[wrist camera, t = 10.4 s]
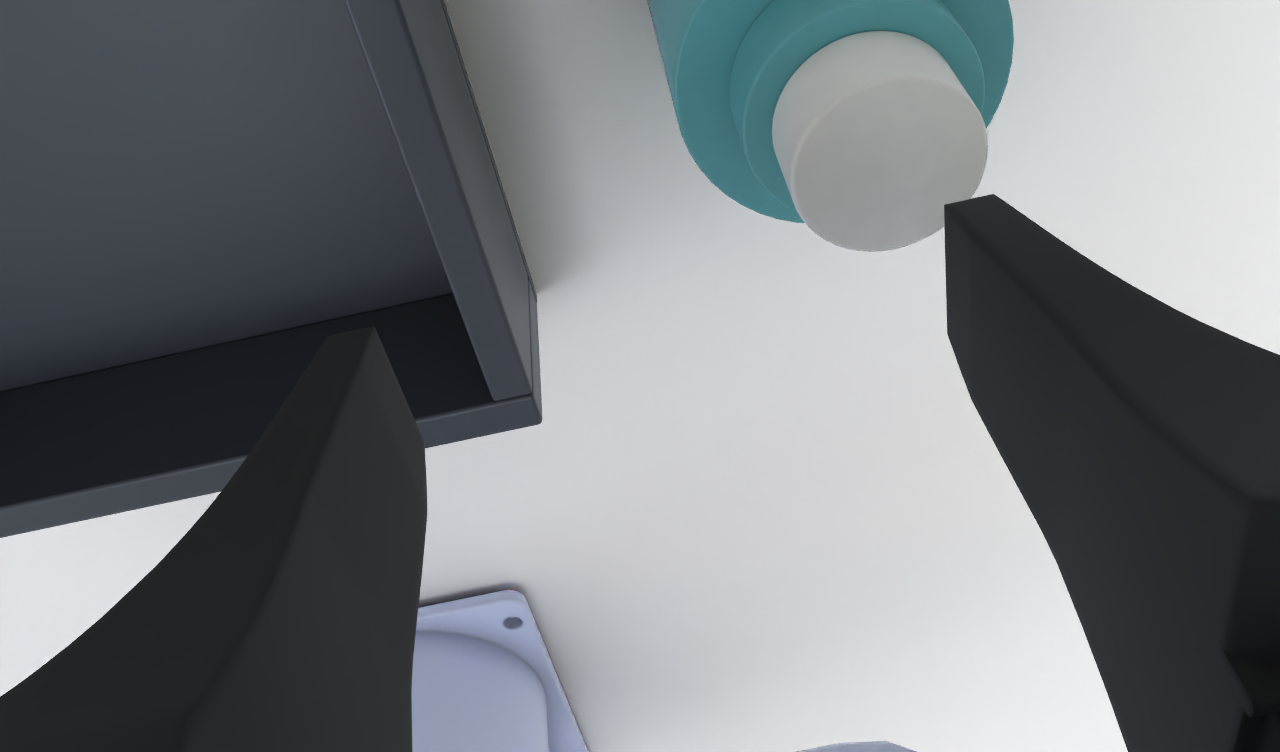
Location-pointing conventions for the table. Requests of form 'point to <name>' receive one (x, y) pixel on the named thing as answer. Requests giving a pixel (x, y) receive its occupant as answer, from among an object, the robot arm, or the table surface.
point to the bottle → (839, 106)
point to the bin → (237, 238)
